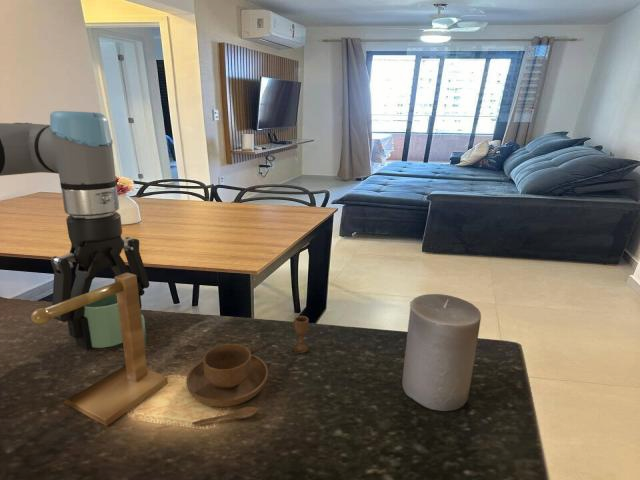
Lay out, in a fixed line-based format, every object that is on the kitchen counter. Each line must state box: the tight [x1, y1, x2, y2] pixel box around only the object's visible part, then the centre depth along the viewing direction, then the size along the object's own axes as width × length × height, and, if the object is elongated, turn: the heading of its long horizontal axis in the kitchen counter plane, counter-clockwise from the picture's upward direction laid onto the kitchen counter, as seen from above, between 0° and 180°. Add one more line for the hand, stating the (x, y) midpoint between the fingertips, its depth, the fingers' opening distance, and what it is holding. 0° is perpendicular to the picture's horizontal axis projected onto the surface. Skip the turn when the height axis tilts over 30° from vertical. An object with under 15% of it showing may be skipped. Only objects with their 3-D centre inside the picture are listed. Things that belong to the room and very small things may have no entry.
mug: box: [82, 289, 148, 349], centre depth 65 cm, size 13×9×9 cm, turn 63°
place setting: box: [185, 315, 310, 426], centre depth 58 cm, size 18×20×6 cm
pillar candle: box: [401, 293, 482, 412], centre depth 56 cm, size 10×10×15 cm
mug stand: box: [30, 272, 169, 427], centre depth 52 cm, size 12×14×17 cm
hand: (111, 339), depth 67 cm, fingers closed on mug, 9 cm apart
